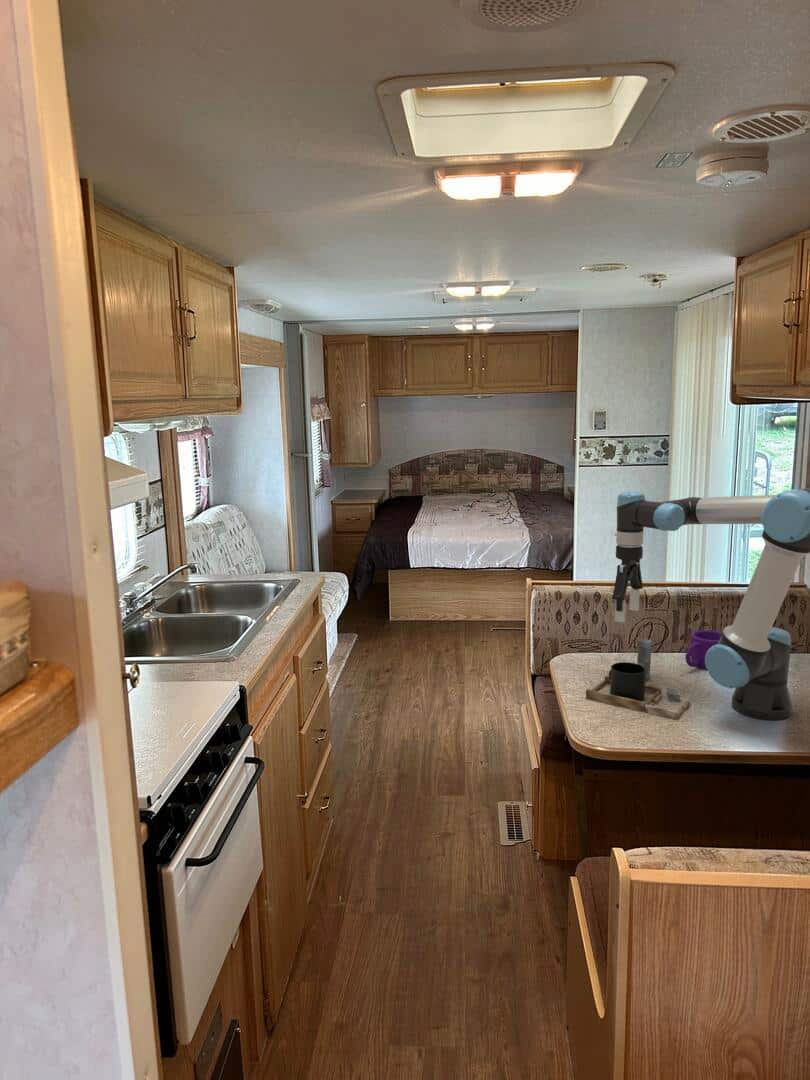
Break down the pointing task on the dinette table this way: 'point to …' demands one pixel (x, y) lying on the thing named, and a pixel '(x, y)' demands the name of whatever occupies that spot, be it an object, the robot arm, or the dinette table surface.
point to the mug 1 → (627, 680)
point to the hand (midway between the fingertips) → (627, 615)
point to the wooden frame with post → (593, 694)
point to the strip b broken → (672, 696)
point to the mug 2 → (701, 646)
